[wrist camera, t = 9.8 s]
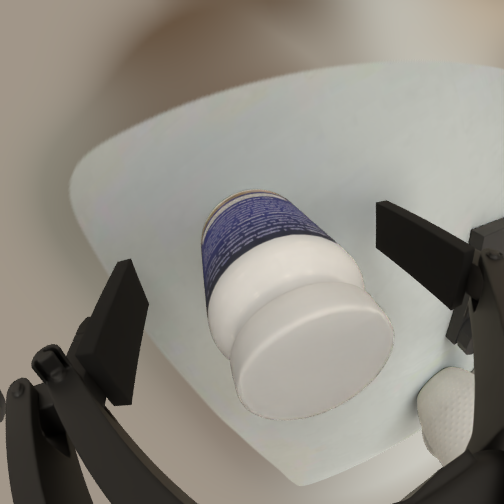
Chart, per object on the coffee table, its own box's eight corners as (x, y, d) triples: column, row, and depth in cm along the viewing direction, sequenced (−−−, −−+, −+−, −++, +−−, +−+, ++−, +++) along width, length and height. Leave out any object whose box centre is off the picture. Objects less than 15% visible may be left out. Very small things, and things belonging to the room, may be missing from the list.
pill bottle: (181, 254, 15) (175, 410, 6) (239, 166, 14) (320, 237, 5) (263, 297, 18) (320, 436, 9) (320, 223, 16) (436, 328, 7)
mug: (435, 406, 35) (470, 457, 23) (385, 430, 33) (420, 492, 21) (473, 344, 28) (525, 401, 17) (422, 370, 27) (478, 446, 15)
